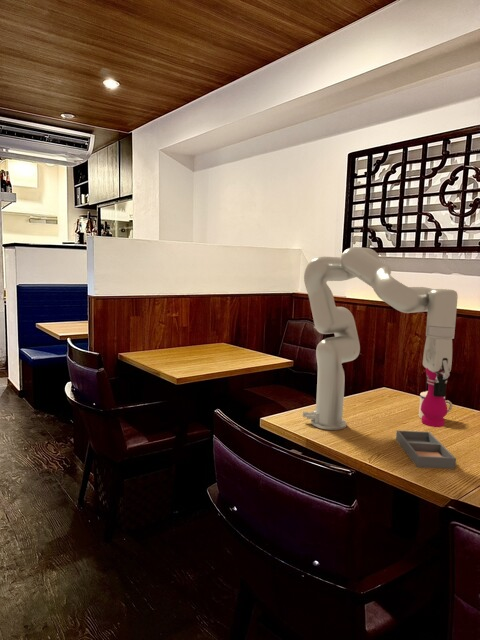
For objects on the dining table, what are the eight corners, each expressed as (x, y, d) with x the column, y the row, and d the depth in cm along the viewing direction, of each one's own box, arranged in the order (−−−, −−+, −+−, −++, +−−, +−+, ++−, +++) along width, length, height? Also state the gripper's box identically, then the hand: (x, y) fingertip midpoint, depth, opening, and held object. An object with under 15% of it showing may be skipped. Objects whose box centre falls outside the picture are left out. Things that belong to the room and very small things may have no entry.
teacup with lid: (421, 421, 170) (424, 391, 168) (415, 413, 179) (417, 384, 177) (455, 423, 168) (458, 393, 167) (446, 415, 177) (449, 386, 176)
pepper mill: (448, 429, 130) (454, 360, 127) (422, 426, 131) (427, 358, 129) (442, 420, 137) (448, 355, 134) (417, 418, 138) (422, 354, 136)
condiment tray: (417, 467, 130) (417, 456, 130) (396, 439, 151) (396, 430, 151) (455, 468, 130) (456, 458, 130) (428, 440, 151) (429, 431, 150)
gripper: (416, 327, 139) (412, 385, 142) (438, 336, 122) (433, 401, 125) (441, 328, 139) (437, 386, 141) (466, 337, 122) (460, 402, 124)
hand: (435, 392), depth 133 cm, fingers closed on pepper mill, 5 cm apart
